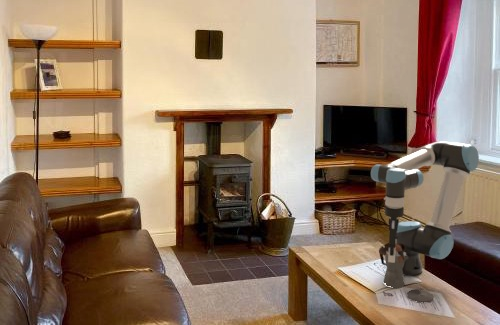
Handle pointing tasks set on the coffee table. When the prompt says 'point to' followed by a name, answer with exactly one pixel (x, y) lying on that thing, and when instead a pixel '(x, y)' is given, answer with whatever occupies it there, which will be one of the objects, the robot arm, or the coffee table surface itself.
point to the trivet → (420, 295)
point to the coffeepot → (394, 271)
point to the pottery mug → (398, 249)
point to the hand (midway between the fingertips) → (391, 257)
